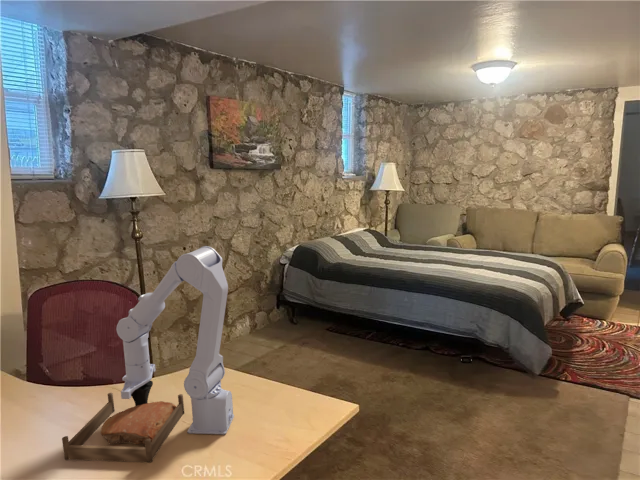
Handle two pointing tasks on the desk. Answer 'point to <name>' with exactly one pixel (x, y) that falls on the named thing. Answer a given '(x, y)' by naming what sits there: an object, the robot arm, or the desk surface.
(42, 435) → the desk surface
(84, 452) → the wooden square frame
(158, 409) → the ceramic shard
